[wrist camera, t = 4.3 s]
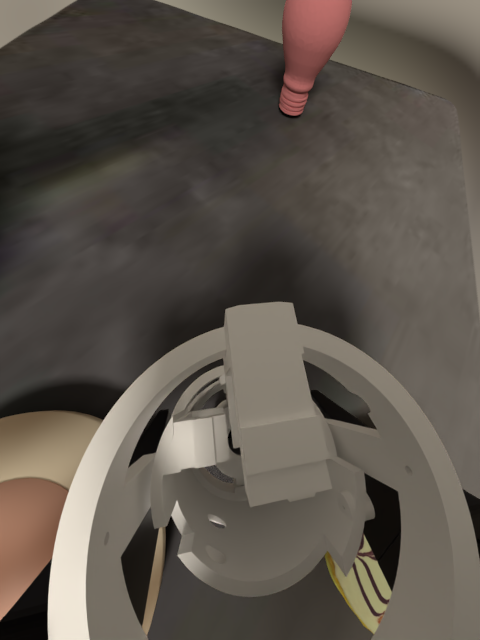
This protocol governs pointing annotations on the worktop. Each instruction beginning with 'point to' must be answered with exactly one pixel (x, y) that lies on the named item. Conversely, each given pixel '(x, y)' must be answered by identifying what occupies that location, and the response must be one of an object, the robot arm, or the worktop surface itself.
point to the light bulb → (309, 45)
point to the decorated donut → (363, 586)
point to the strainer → (265, 484)
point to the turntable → (44, 497)
